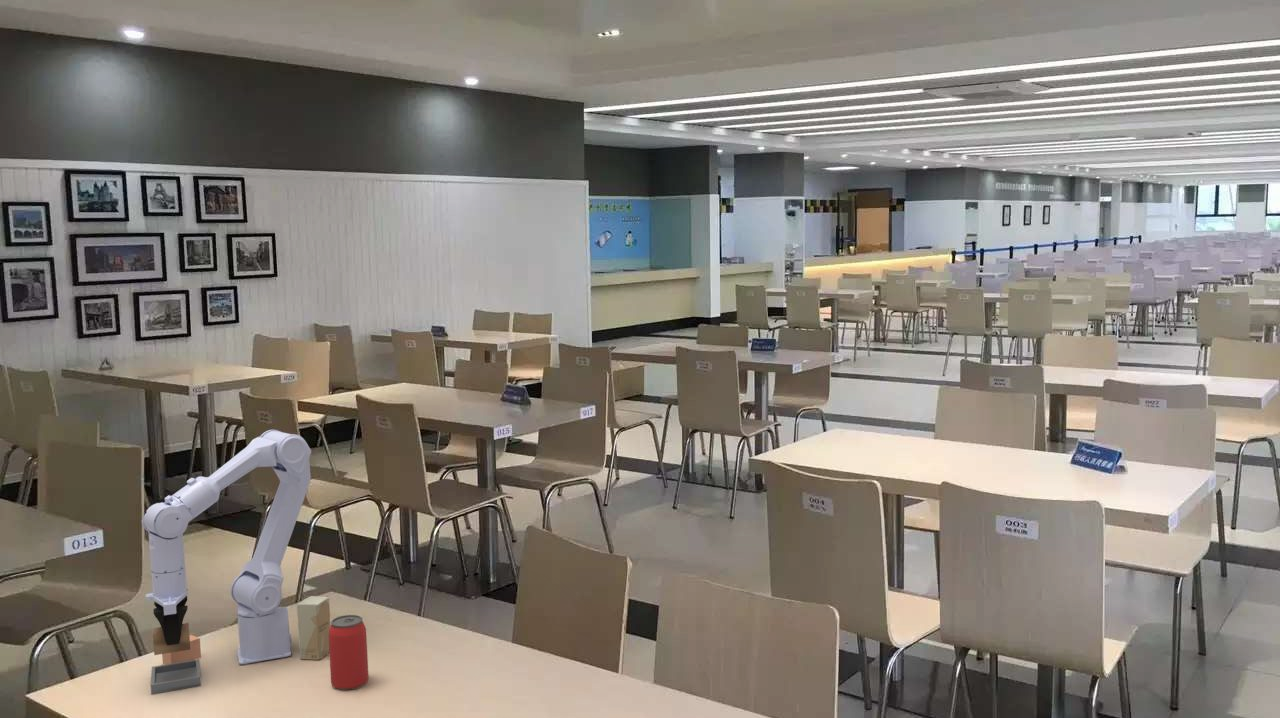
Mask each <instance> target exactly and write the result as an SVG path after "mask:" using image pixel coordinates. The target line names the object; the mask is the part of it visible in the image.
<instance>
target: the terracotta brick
mask: <svg viewBox="0 0 1280 718" xmlns="http://www.w3.org/2000/svg"><path fill="white" fill-rule="evenodd" d="M201 651H202V650H201V638H200V637H197V636H195V635H192V634H190V650H184V651H178V652H172V653H166V654H161V657H162V665H166V664H172V663H178V662H184V661H190V660H196V659H200V658H202V653H201Z"/></svg>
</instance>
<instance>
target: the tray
mask: <svg viewBox="0 0 1280 718" xmlns="http://www.w3.org/2000/svg"><path fill="white" fill-rule="evenodd" d="M200 662H201V661H200V658H198V659H195V660H190V661H184V662H178V663H172V664H166V665H164V664H161V665H160V664H159V665H155V666H151V671H150V672H151V673H150V676H151V677H150V692H151V693H150V695H157V694H161V693H162V694H163V693H167V692H173V691H178V690H180V691H181V690H184V689H189V688H196V687H201V665H200V664H201V663H200Z"/></svg>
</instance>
